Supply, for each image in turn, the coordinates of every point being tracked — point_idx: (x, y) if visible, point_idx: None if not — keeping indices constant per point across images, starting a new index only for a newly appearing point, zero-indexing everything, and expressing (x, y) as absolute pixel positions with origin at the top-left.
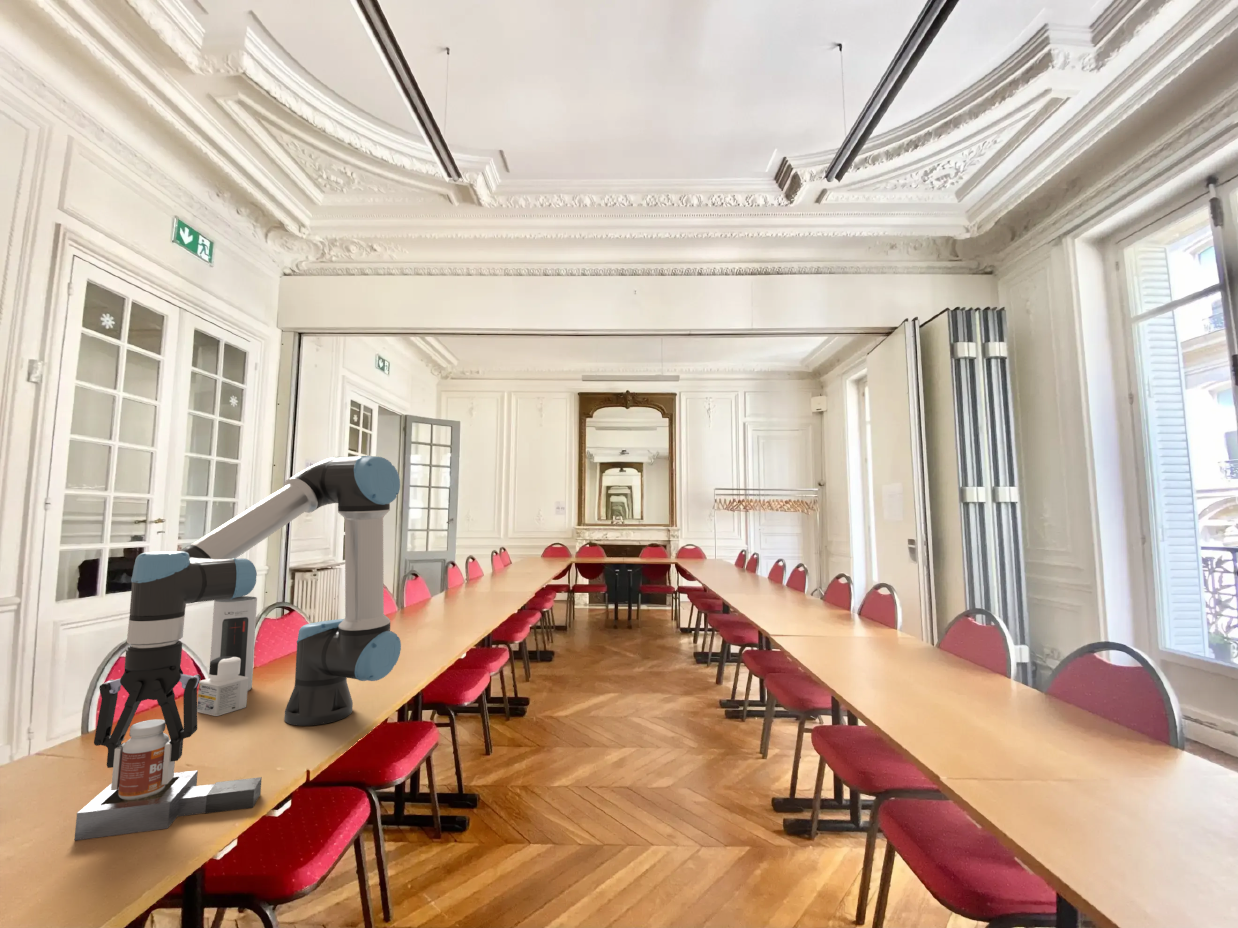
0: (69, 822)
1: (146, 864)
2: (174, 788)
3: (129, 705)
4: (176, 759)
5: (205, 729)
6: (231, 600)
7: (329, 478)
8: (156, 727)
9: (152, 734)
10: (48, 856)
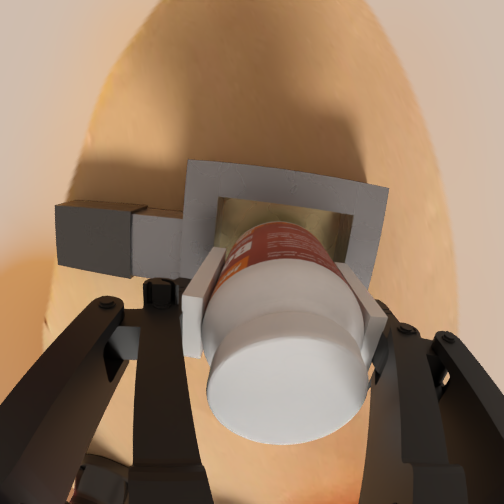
0: (392, 274)
1: (207, 35)
2: (199, 247)
3: (434, 468)
4: (180, 279)
5: (253, 499)
6: None
7: None
8: (231, 346)
9: (250, 322)
10: (388, 137)
